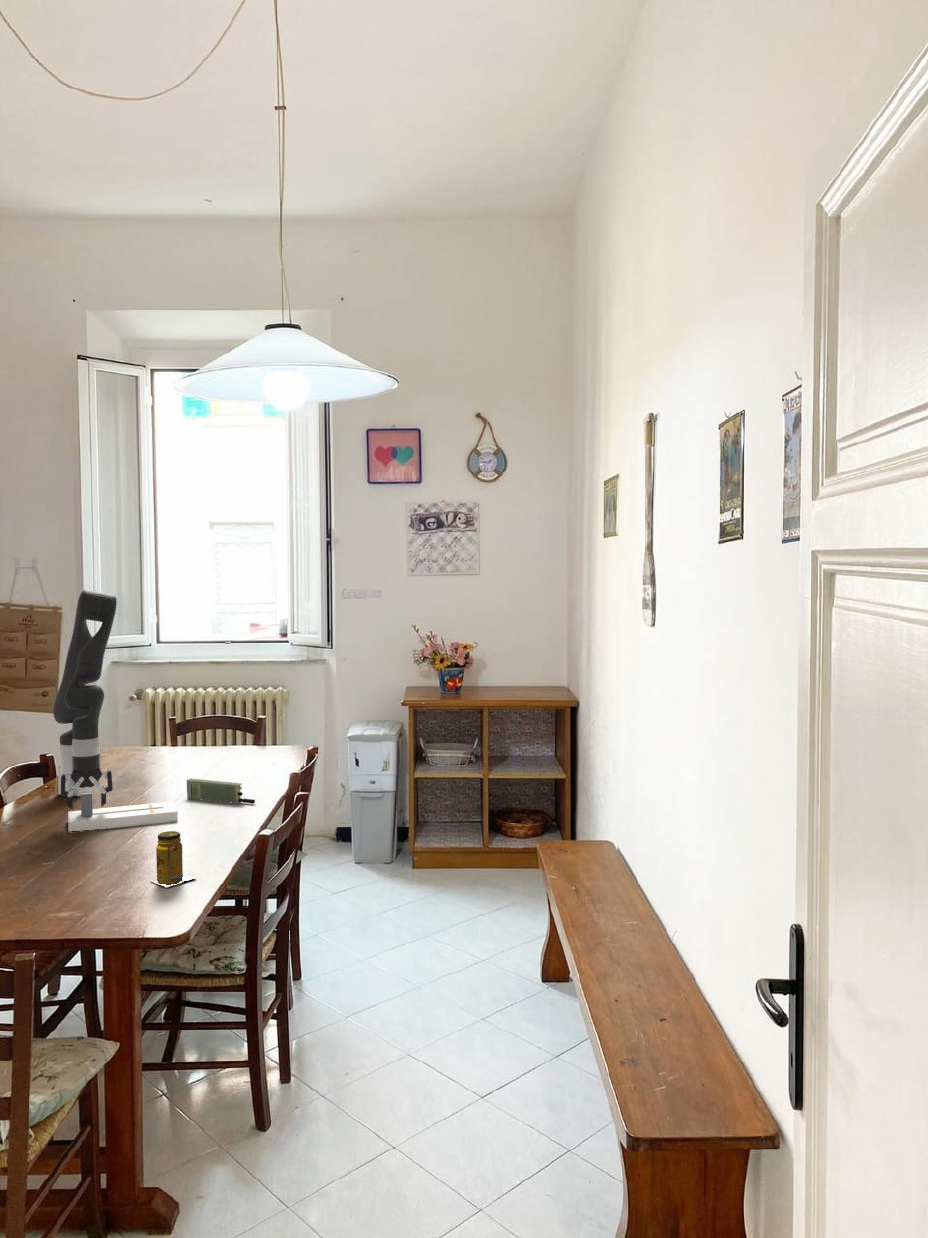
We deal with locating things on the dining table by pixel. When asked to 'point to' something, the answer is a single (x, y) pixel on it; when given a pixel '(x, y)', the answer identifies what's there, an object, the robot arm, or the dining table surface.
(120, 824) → the console
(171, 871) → the condiment
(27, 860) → the dining table surface
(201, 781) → the handheld radio
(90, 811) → the block
